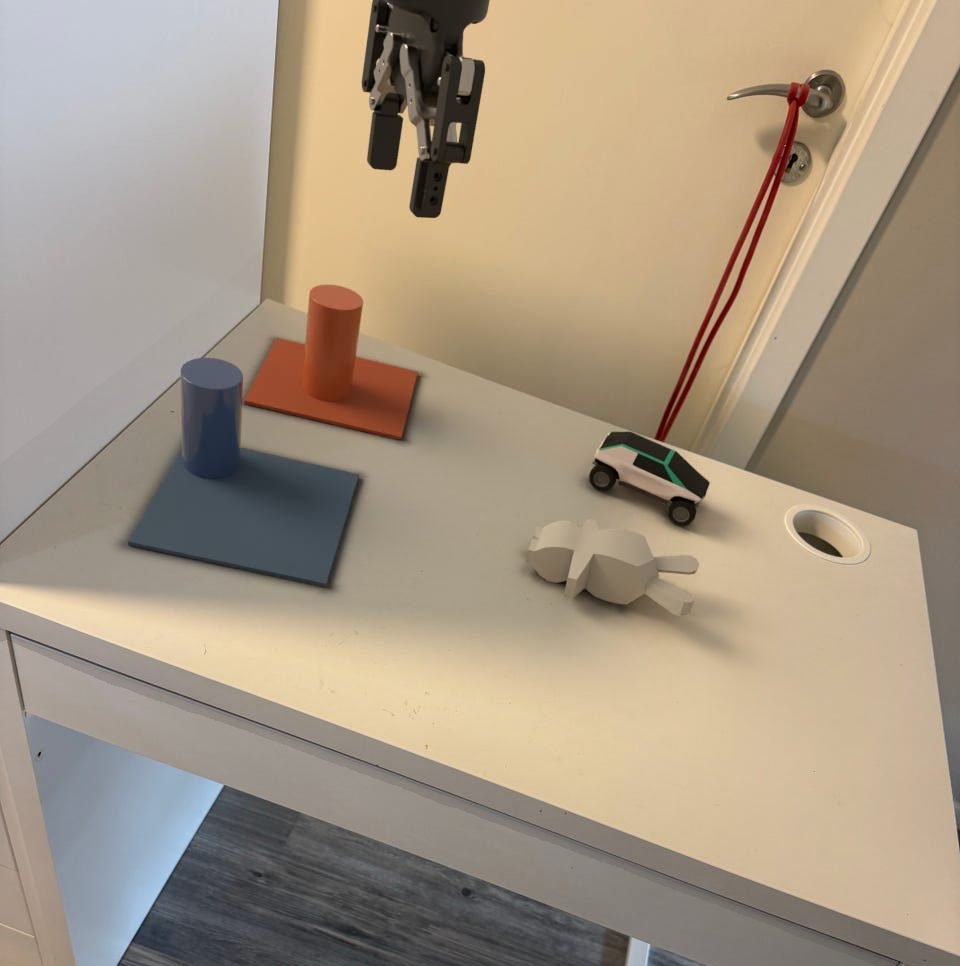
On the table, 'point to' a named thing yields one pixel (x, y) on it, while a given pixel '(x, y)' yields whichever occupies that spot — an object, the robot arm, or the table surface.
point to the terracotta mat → (368, 408)
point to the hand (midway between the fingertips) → (401, 191)
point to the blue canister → (211, 417)
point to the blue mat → (253, 516)
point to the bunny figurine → (608, 564)
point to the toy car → (649, 473)
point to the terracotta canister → (331, 342)
